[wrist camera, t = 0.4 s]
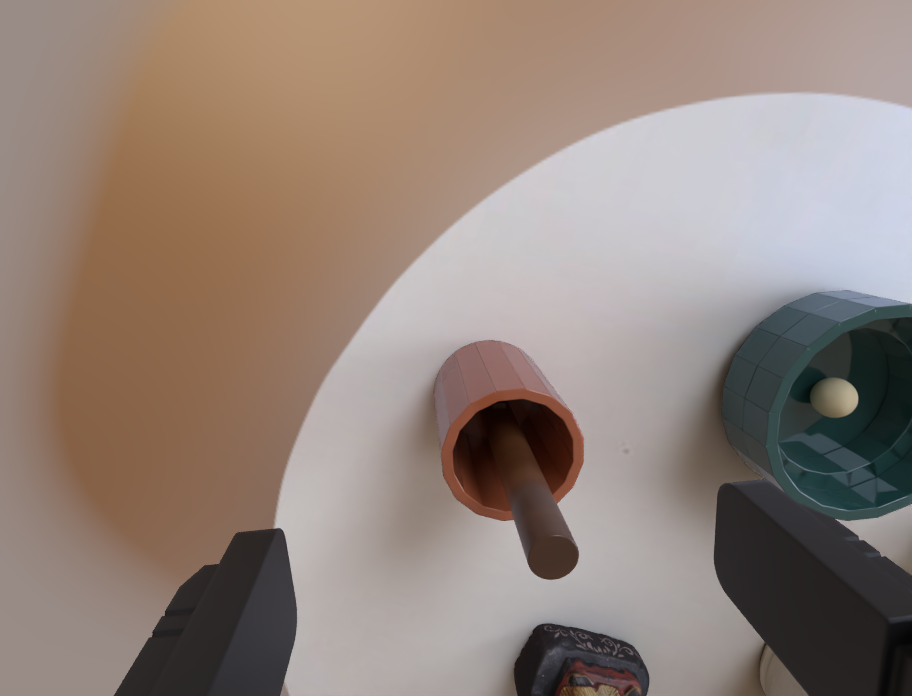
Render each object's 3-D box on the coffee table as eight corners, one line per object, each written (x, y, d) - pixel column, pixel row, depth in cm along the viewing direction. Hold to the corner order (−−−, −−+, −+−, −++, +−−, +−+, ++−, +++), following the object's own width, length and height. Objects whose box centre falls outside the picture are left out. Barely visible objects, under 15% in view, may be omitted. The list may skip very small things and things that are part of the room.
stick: (473, 378, 38) (526, 531, 21) (502, 375, 38) (579, 525, 21) (476, 413, 39) (529, 589, 21) (504, 410, 39) (579, 583, 22)
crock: (429, 345, 38) (436, 396, 28) (539, 335, 38) (583, 382, 28) (438, 447, 40) (447, 527, 30) (542, 436, 40) (584, 512, 31)
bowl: (722, 298, 38) (777, 316, 33) (920, 280, 39) (1008, 295, 34) (710, 485, 42) (758, 531, 37) (891, 466, 43) (965, 507, 37)
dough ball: (802, 374, 40) (831, 387, 37) (840, 370, 40) (871, 383, 37) (799, 410, 40) (826, 425, 38) (835, 407, 41) (865, 421, 38)
